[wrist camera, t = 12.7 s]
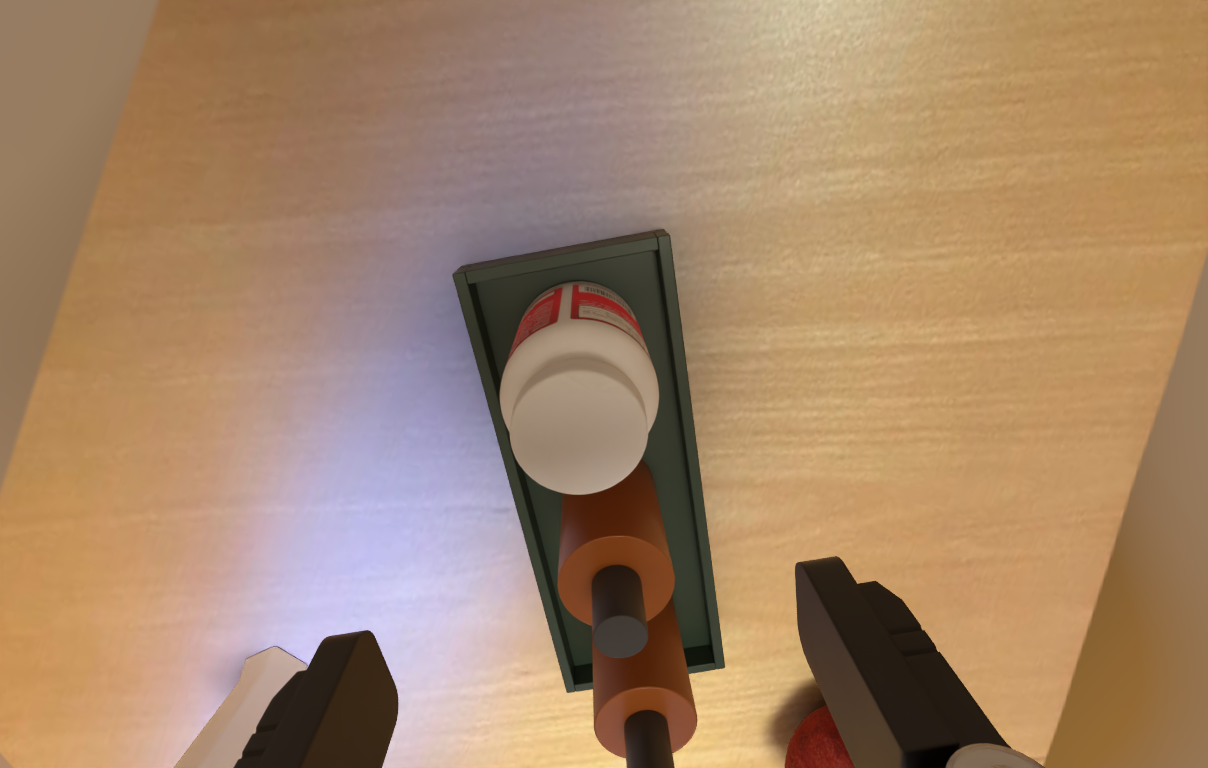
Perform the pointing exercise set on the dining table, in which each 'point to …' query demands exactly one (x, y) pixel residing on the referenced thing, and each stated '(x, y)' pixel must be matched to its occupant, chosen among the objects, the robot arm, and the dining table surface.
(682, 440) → the tray
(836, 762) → the fruit
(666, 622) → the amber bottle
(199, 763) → the white faceted vase
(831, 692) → the robot arm
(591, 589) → the amber bottle middle
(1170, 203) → the dining table surface
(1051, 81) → the dining table surface
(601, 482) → the pill bottle
